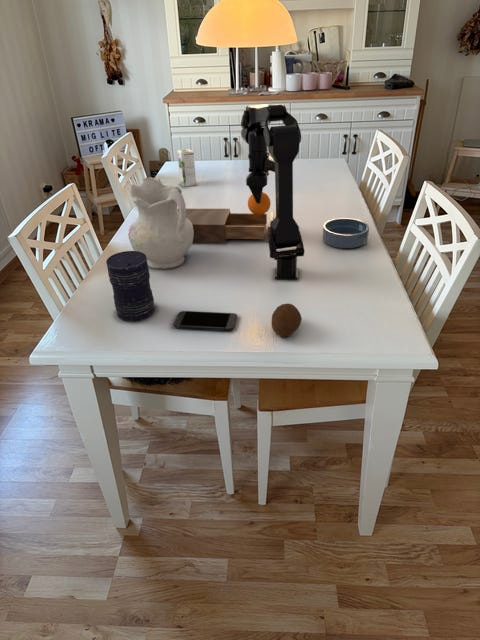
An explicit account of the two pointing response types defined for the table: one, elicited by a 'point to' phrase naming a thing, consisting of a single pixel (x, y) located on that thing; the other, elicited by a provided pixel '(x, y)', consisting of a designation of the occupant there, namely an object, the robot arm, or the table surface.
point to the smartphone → (205, 320)
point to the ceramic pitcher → (160, 224)
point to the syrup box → (186, 167)
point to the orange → (259, 204)
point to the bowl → (345, 232)
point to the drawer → (247, 226)
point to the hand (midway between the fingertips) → (259, 199)
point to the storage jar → (131, 285)
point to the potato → (286, 320)
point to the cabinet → (208, 225)
